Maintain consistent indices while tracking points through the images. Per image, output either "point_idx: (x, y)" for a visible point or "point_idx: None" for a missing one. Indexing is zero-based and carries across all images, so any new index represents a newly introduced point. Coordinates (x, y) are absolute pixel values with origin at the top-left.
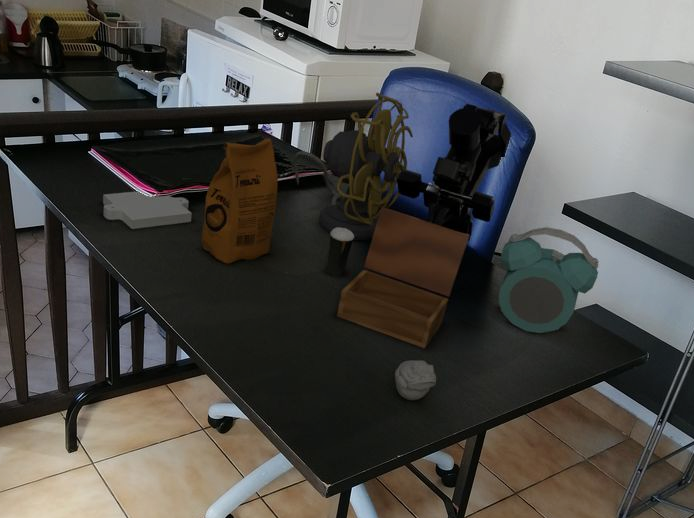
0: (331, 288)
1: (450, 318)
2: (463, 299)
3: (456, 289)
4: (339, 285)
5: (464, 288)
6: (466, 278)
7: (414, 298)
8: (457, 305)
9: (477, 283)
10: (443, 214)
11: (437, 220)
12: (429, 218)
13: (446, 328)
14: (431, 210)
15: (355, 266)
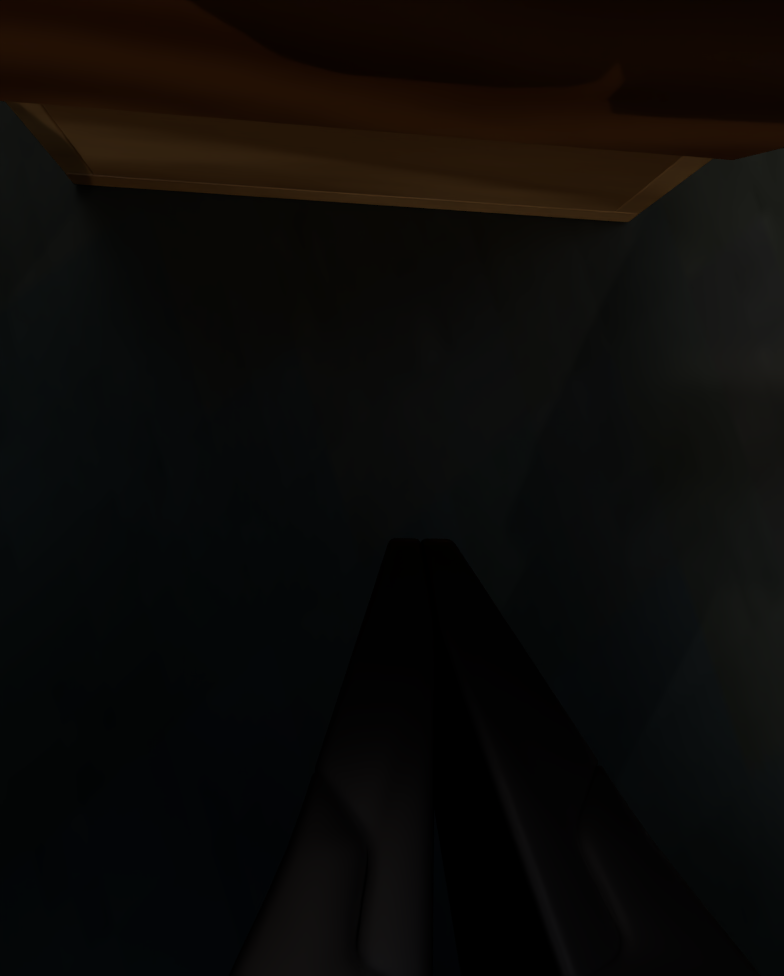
0: (779, 192)
1: (42, 302)
2: (37, 634)
3: (120, 746)
4: (756, 261)
5: (75, 803)
6: (104, 968)
7: None
8: (51, 517)
9: (13, 953)
10: (310, 857)
11: (380, 710)
12: (531, 696)
13: (28, 149)
14: (597, 855)
15: (763, 576)
